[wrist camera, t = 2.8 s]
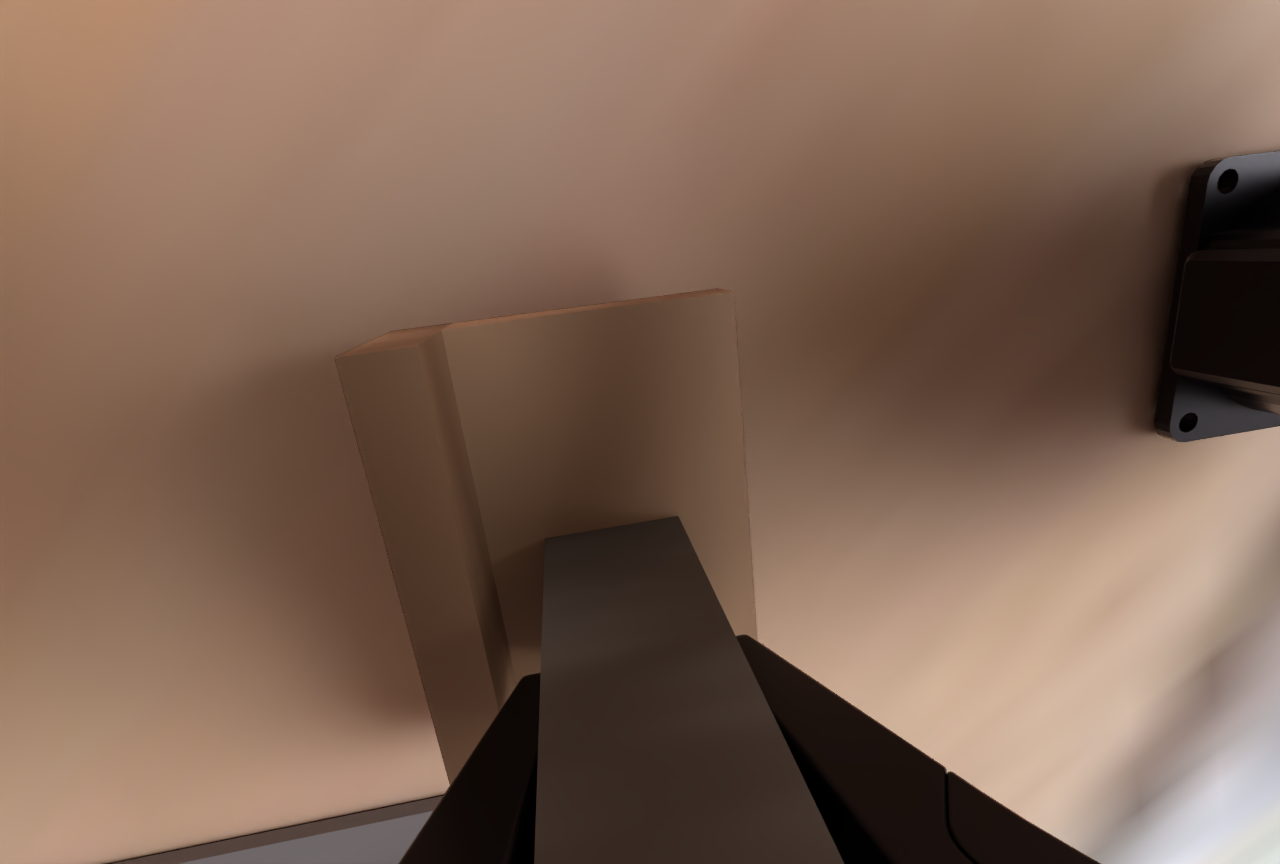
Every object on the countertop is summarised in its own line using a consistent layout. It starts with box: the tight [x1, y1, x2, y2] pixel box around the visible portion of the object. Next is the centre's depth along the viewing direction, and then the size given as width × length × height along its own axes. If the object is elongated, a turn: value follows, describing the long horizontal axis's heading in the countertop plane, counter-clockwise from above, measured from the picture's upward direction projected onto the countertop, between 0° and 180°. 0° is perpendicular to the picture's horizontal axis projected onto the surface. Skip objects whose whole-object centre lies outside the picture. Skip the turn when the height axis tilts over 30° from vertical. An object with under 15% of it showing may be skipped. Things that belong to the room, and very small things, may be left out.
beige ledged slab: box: [335, 289, 844, 864], centre depth 8 cm, size 6×10×8 cm, turn 7°
